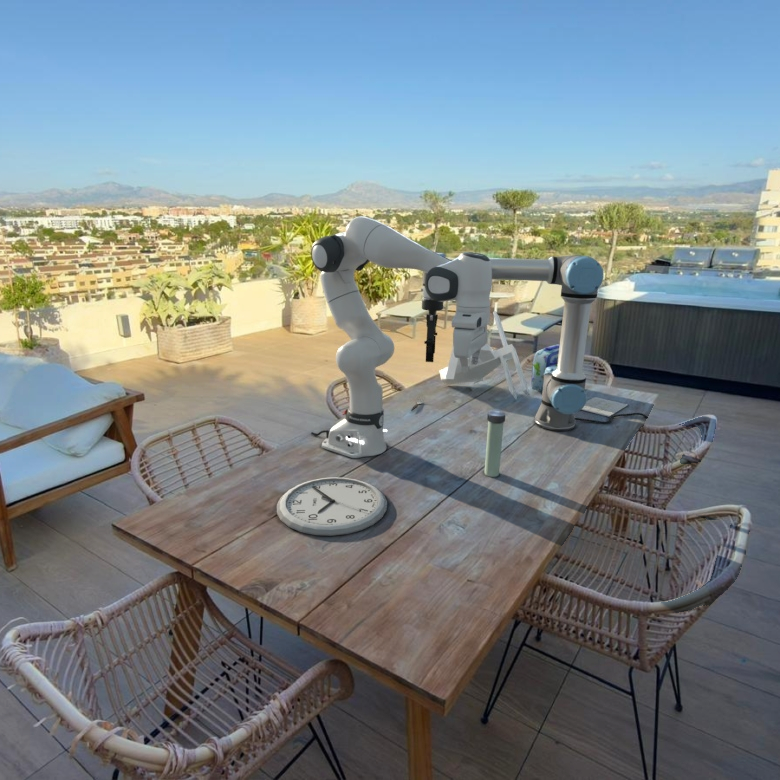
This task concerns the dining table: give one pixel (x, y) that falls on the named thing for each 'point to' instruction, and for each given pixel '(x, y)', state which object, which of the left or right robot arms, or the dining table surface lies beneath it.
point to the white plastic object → (486, 364)
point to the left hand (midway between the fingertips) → (470, 367)
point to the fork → (418, 403)
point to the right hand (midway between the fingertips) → (430, 357)
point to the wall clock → (331, 506)
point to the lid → (496, 417)
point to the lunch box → (543, 365)
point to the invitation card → (603, 406)
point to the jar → (493, 449)
